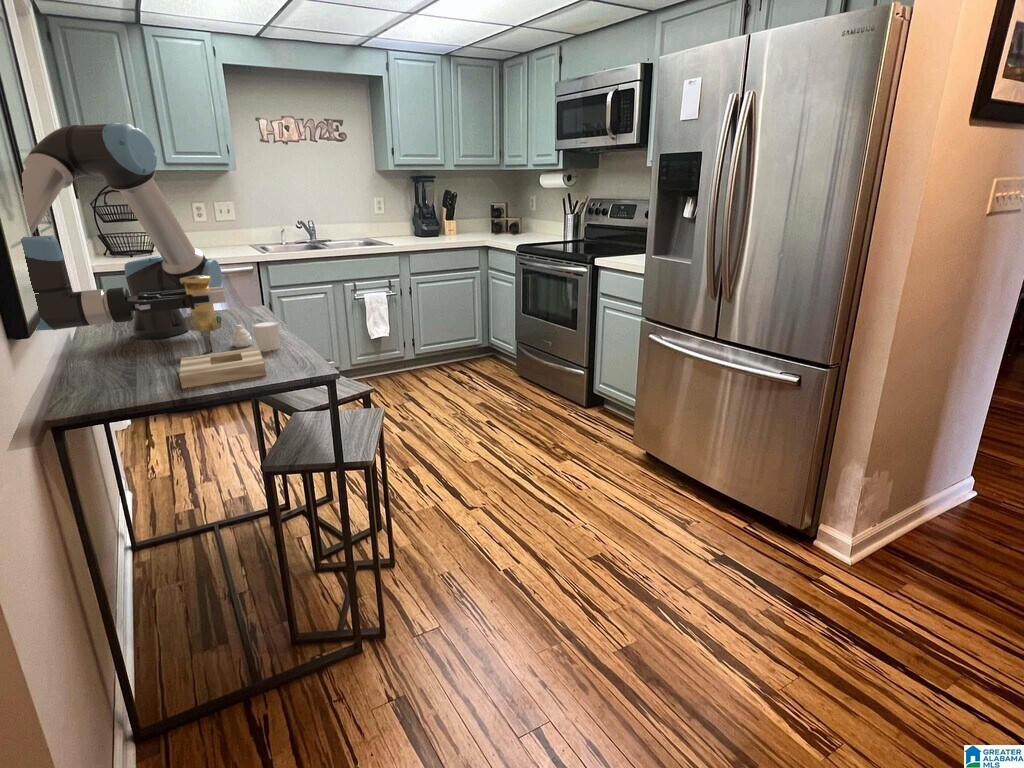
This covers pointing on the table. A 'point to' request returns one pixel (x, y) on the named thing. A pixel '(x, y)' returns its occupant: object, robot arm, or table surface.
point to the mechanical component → (205, 333)
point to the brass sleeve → (202, 313)
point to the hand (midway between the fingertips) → (224, 294)
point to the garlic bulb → (241, 337)
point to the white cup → (267, 335)
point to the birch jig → (221, 367)
